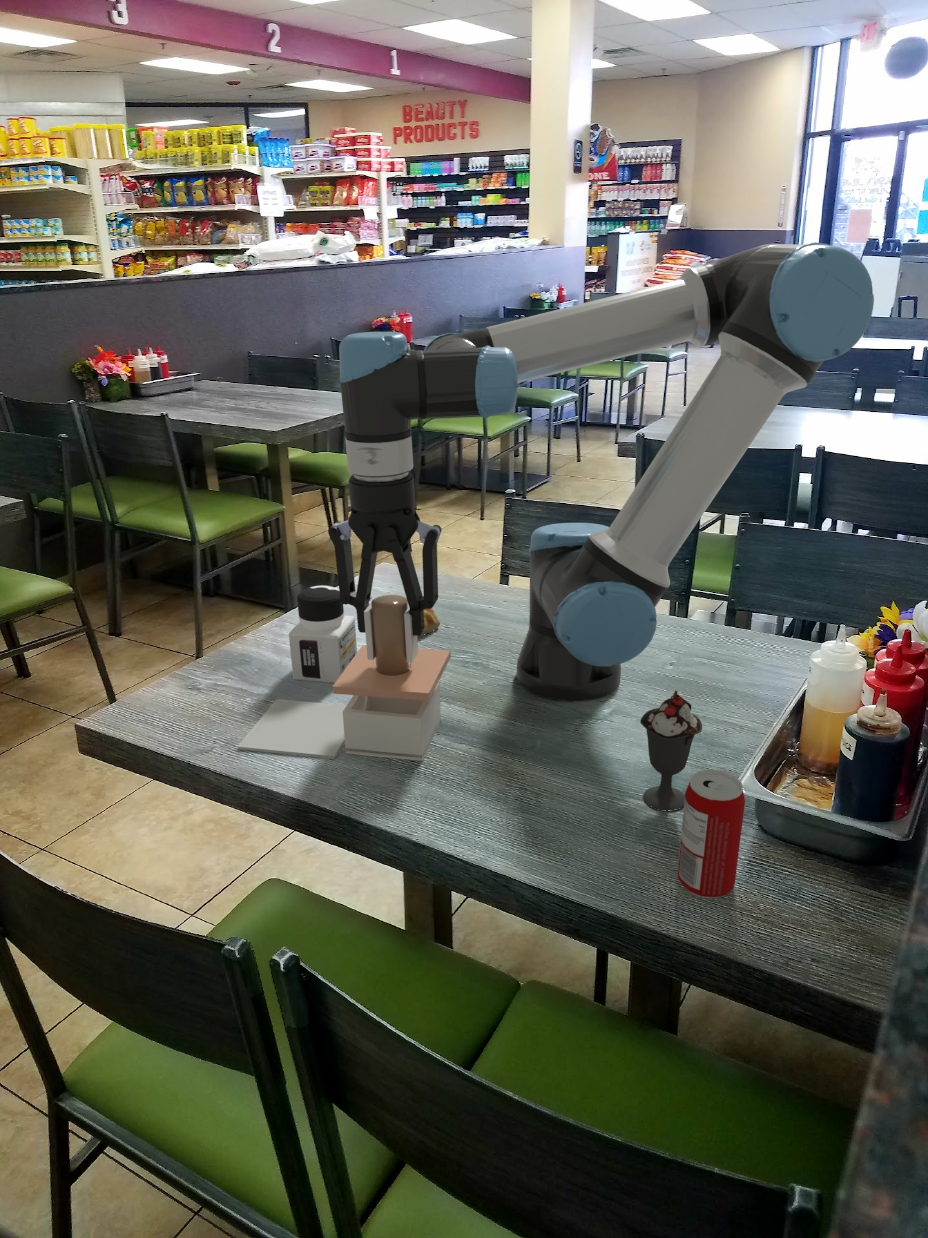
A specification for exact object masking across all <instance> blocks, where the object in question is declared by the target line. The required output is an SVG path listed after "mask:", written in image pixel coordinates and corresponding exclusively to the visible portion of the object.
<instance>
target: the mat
mask: <svg viewBox="0 0 928 1238" xmlns="http://www.w3.org/2000/svg"><path fill="white" fill-rule="evenodd" d="M346 706H347V704H339V703H338V704H336V703H326V702H325V703H324V702H313V701H301V700H291V699H282V698H276V700H275V701H274V702H273V703H272V704H271V705H270V707H269V708H268V709H266V711H265V713H264V714H263V715H262V716H261V717H260V718H259V720H258V721H257V723H255V725H254V726H253V727H252V729H251V730H250V731H249V732H248V733H247V734H246V736H244V738H243V739H242V740H241V742H240V743H238V745H237V746H236V748H237V750H240V751H251V752H261V753H273V754H280V755H292V756H302V757H303V756H304V757H311V758H322V759H331V760H334V759H335V758H336V757H337V755H338V753H339V752H340V751H341V749H343V748H342V747H343V746H344V745H345V737H344V724H343V710H344V709H345V707H346Z"/></svg>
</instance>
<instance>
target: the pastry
mask: <svg viewBox="0 0 928 1238" xmlns="http://www.w3.org/2000/svg"><path fill="white" fill-rule="evenodd" d="M440 625H441V622H440V620H439V618H438V615H437V614H436V613H435V610H434V609H433V608H431V609H424V630H423V632H422V634H421V636H417V639H419V638H418V637H420V638H422V637H423V635H424V634H426V635H428V634H427V633H429V634H431V633H433V632H434V631H433V630H435V631H436V630H438V628H439V627H440ZM432 631H433V632H432ZM430 632H431V633H430ZM424 636H425V635H424Z"/></svg>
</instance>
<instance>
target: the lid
mask: <svg viewBox="0 0 928 1238" xmlns="http://www.w3.org/2000/svg"><path fill="white" fill-rule="evenodd" d="M370 603H371V605H372V618H373V632H374V645H375V658H374V660H368V658H367V645H366V644H362V645H361V647H360V648H359V649H358V650H357V653H356V655H355V656H354V658H353V659H352V660H351V662H350V663H349V665H348V666H347V667H346V669H345V670H344V671H343V673H342V674H341V676H340V677H339V678H338V680H337V681H336V682H335V683H333V685H332V692H333V694H336V695H347V696H353V695H359V696H372V697H386V698H400V699H414V700H427V701H429V700H430V698H431V696H432V694H433V692H434V690H435V688H436V686H437V684H438V682H440V680H441V678H442V676H443V674H444V672H445V669H446V668H447V666H448V663H449V662H450V659H451V657H452V656H451V654H452V653H451V650H446V649H431V648H418V654H417V656H416V658H415V660H414V661H413V663H412V662H407V656H406V639H405V622H404V613H405V611H406V610H407V609H408V607H409V605H408V601H407V598H406V596H403V595H398V594H385V595H382V596H381V595H380V596H377V597H375V598H373V599H371V602H370Z"/></svg>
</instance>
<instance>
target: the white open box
mask: <svg viewBox="0 0 928 1238" xmlns="http://www.w3.org/2000/svg"><path fill="white" fill-rule="evenodd" d="M440 685H441V684H440V681H439V682H438V684H437V686H436V688H435V690H434V692H433V694H432V696H431V698H430V700H429V701H427V700H414V699H400V698H386V697H372V696H359V695H352V696H351V699H350V700H349V701H348V703H347V704H346V705H347V706H346V707H345V709H344V710H343V724H344V737H345V743H344V748H345V754H349V755H359V756H368V757H378V758H389V759H398V760H399V759H400V760H407V761H418V762H423V761H424V759H425V756H426V755H427V752H428V750H429V749H430V746H431V744H432V742H433V740H434V737H435V735H436V733H437V731H438V729H439V726H440V724H441V722H442V720H441V719H442V717H441V693H440V692H441V689H440V688H441V687H440Z"/></svg>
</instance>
